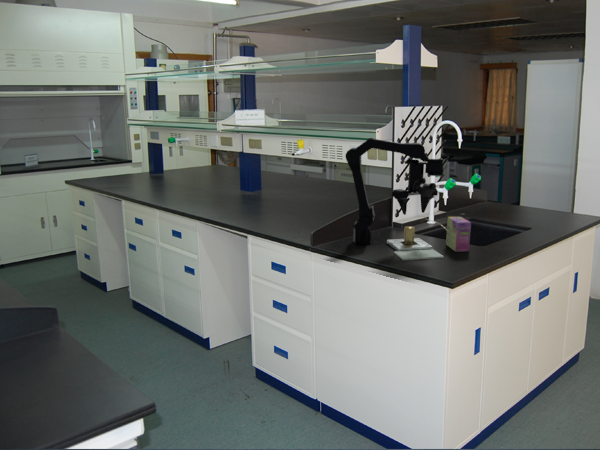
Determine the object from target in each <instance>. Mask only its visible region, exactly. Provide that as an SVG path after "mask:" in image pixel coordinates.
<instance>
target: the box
mask: <svg viewBox="0 0 600 450" xmlns="http://www.w3.org/2000/svg"><path fill="white" fill-rule="evenodd" d="M471 229H472V222H471V221H469V220H468V219H466V218H464V217H462V216H447V224H446V239H445V244H446V246H447V247H449V248H450V249H451V250H452V251H454V252H456V253H457V252H458V253H462V252H465V253H466V252H469V251H470V241H471V239H470V238H471Z"/></svg>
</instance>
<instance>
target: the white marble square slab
mask: <svg viewBox="0 0 600 450" xmlns="http://www.w3.org/2000/svg"><path fill="white" fill-rule="evenodd" d="M386 244H387V245H388V246H390V247H391V248H392V249H394V250H395V251H411V250H427V249H433V246H432V245H430V244H429V243H427V242H426V241H424V240H423V239H421V238H420V237H414V245H404V238H396V239H395V238H394V239H387V240H386Z"/></svg>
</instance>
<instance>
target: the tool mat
mask: <svg viewBox="0 0 600 450" xmlns="http://www.w3.org/2000/svg"><path fill="white" fill-rule="evenodd" d="M393 254H395V255H396V256H397V257H398V258H399V259H401V260H402V261H413V260H428V259H429V260H431V259H444V255H443V254H441V253H439V252H438V251H437V250H435V249H434V248H432V249H427V250H411V251H396V250H395V251H393Z"/></svg>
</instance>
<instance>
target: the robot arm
mask: <svg viewBox="0 0 600 450" xmlns="http://www.w3.org/2000/svg"><path fill="white" fill-rule="evenodd" d="M371 149H373V150H374V149H375V150H381V151H387V152H392V153H397V154H399V153H400V154H402V155H404V156H407V157H408V158H407V159H406V160H405V161H404V164H405V165H408V176H407V177H406V180H407V181H408V183H407V187H405V189H403V188H400V189H399V188H398V189H393V191H391V192H392V193H391V197H392V198H394V199H395V200H397V204H398V205H399V207H400V209H401V211H402V214H403V215H404V216H405V215H406V214H407V205H408V201H409V200H410V199H409V196H418V195H420V209H421V213H423V214H424V213H425V212H426V209H427V207H428V204H429V203H430V201H431V200H432V199H434V198H435V196H438V189H437V184H436V183H435V182H430V183H426V182H427V180H426V178H425V177H424V174H427V176H429V177H431V176H432V177H443V176H444V159H443V158H429V156H428V155H427V154H426V150H425V149H426V148H425V146H424V145H423V144H422V143H419V142H408V143H406V142H405V143H403V142H402V143H401V142H396V141H391V140H390V141H389V140H384V139H383V140H382V139H378V138H374V137H370V138H368V139H366V140H365V141H364V142H362V143H361V144H360V145H358V146H357V147H351V148H350V149H348V150H347V151H346V153H345V160H346V162H347V165H348V167H349V169H350V171H351V173H352V180H353V184H354V187H355V193H356V197H357V202H358V218H357V219H356V220H355V222H354V224H353V237H352V238H353V239H352V243H354V244H355V245H371V244H372V242H371V241H372V232H371V228H370V226H371V225H372V224H373V223H374V219H375V216H376V213H375V210H374V204H373V205H370V203H369V200H368V195H367V190H366V186H365V181H364V177H363V176H364V175H363V172H362V156H363V155H365V154H366V153H367V152H368V151H371ZM411 158H412V159H411ZM419 160H421V161H419Z"/></svg>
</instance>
